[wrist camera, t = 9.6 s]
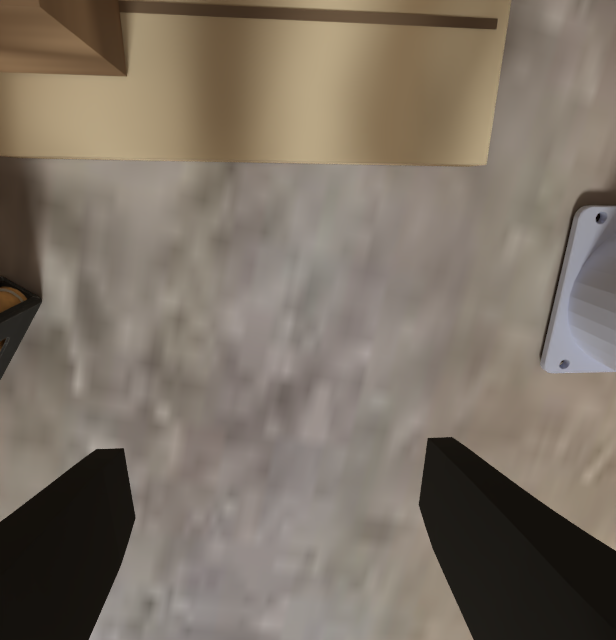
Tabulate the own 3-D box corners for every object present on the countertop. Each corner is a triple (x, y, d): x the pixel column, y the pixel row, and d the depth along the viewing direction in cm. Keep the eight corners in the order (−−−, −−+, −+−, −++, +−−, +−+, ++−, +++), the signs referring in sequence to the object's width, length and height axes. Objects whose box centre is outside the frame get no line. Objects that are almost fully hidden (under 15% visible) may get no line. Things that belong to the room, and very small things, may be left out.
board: (507, -114, 13) (535, -151, 12) (468, 166, 16) (487, 164, 15) (-49, -156, 12) (-94, -203, 11) (17, 158, 15) (-10, 154, 14)
